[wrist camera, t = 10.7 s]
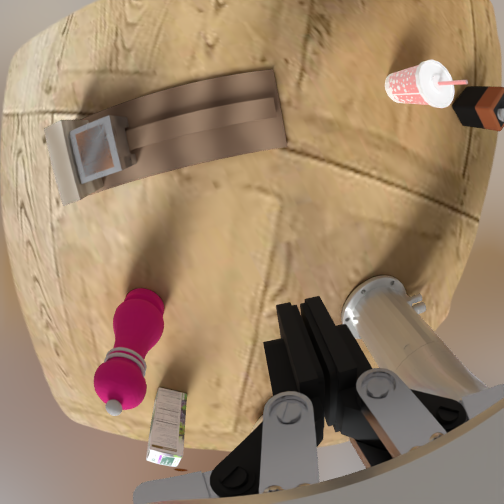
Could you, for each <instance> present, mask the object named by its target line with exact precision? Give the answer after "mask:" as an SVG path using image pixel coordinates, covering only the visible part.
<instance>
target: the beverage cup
mask: <svg viewBox="0 0 504 504" xmlns="http://www.w3.org/2000/svg"><path fill="white" fill-rule="evenodd" d="M457 84H468V81H467V80H455V81H452V78H451V75H450V74H449V72H448V71H447V69H446V68H445V67H444V66H443V65H442V64H441V63H440V62H438V61H435V60H428V61H424V62H421V63H420V65H417V66H414V67H410V68H407V69H404V70H401V71H398V72H395V73H392V74H389V75H388V76H387V78H386V80H385V89H386V92H387V94H388V96H389V97H390V98H391V99H392V100H393V101H395V102H398V103H410V104H424V105H431V106H433V107H437V108H445V107H447V106H449V105H450V103H451V102H452V101H453V97H454V85H457Z"/></svg>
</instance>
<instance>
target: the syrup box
mask: <svg viewBox="0 0 504 504" xmlns="http://www.w3.org/2000/svg"><path fill="white" fill-rule="evenodd" d="M186 401H187V394H186V393H183V392H178V391H174V390H169V389H165V388H160V387H159V388H158V391H157V395H156V399H155V403H154V408H153V414H152V421H151V427H150V434H149V442H148V451H147V458H146V460H148V461H151V462H154V463H157V464H161V465H167V466H177V465H178V463H179V462H180V460H181V458H182V456H183V451H184V432H185V416H186Z"/></svg>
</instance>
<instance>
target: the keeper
mask: <svg viewBox="0 0 504 504" xmlns="http://www.w3.org/2000/svg"><path fill="white" fill-rule="evenodd" d="M128 127H129V125H128V120H127V117H121V116H112V115H109V116H106V117H103V118H101V119H98V120H96V121H93V122H91V123H88V124H86V125H83V126H81V127H79V128H76V129H74V130H72V131H70V132H69V134H70V139H71V144H72V148H73V153H74V157H75V161H76V165H77V169H78V173H79V177H80V180H81V184H84V183H86V182H89V181H92V180H95V179H98V178H101V177H103V176H106V175H109V174H112V173H115V172H119V171H122V170H124V169H126V168H128V167H130V166H133V165H135V164H137V160H136V156H135V153H134V154H130V150H129V145H128V141H127V137H126V132H125V128H128Z"/></svg>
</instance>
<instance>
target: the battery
mask: <svg viewBox="0 0 504 504" xmlns="http://www.w3.org/2000/svg"><path fill="white" fill-rule="evenodd" d="M452 107H453V109H454V111H455V113H456V114H457V116H458V118H459V120H460V122H461V123H462V125H463V126H470V127H477V128H483V129H490V130H495V131H501V130H502V128H503V127H504V87H480V86H471V87H466V89H465V90H464V91H463V92H462V94H461V95H460V96H459V98H458V99H457V100H456V101H455V103H454V104H453V105H452Z"/></svg>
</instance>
